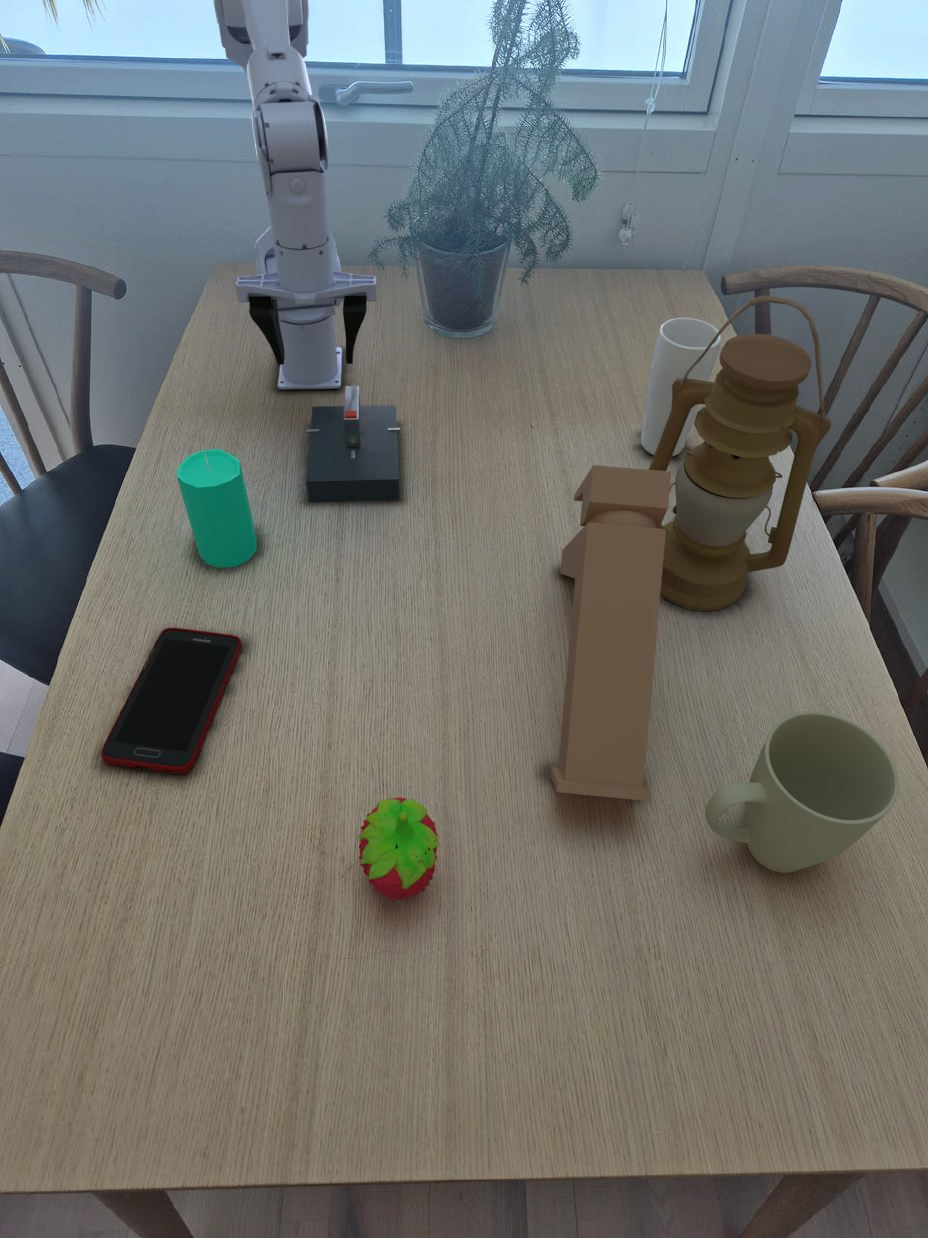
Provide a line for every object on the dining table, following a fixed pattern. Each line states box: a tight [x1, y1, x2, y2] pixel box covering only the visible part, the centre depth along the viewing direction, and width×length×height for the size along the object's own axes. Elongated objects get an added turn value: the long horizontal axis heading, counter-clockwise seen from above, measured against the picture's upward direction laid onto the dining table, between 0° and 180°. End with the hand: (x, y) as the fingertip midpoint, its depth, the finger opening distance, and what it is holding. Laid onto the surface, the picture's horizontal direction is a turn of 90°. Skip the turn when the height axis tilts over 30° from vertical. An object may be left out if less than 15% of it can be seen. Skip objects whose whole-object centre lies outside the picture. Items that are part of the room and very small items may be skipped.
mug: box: [704, 710, 900, 874], centre depth 61 cm, size 11×10×12 cm
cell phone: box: [100, 627, 243, 775], centre depth 73 cm, size 8×15×1 cm, turn 172°
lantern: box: [648, 295, 832, 612], centre depth 75 cm, size 15×10×30 cm
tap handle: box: [343, 385, 361, 447], centre depth 94 cm, size 6×2×4 cm, turn 5°
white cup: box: [640, 317, 722, 457], centre depth 95 cm, size 7×7×15 cm
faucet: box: [549, 464, 672, 802], centre depth 74 cm, size 7×23×25 cm
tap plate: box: [305, 404, 401, 503], centre depth 95 cm, size 14×11×3 cm
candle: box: [176, 448, 258, 569], centre depth 82 cm, size 6×6×12 cm
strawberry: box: [358, 796, 440, 902], centre depth 59 cm, size 6×7×10 cm
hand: (315, 359), depth 93 cm, fingers open, 7 cm apart
